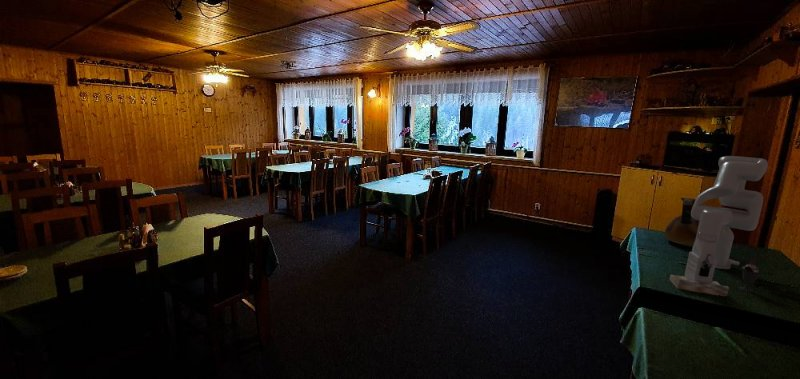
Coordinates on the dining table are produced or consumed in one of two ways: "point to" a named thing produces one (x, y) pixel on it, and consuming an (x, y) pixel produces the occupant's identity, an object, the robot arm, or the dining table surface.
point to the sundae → (749, 275)
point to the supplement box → (698, 269)
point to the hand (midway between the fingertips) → (699, 272)
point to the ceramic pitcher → (683, 226)
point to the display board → (699, 286)
